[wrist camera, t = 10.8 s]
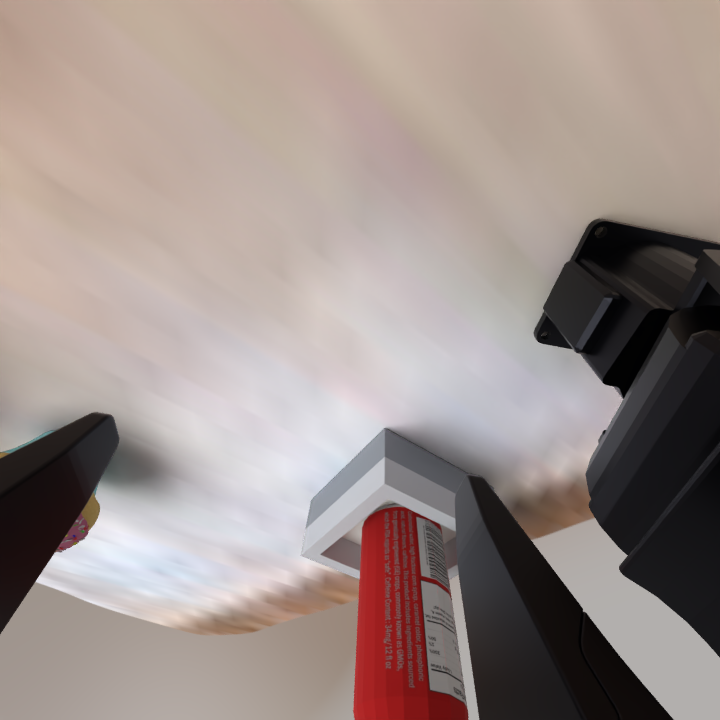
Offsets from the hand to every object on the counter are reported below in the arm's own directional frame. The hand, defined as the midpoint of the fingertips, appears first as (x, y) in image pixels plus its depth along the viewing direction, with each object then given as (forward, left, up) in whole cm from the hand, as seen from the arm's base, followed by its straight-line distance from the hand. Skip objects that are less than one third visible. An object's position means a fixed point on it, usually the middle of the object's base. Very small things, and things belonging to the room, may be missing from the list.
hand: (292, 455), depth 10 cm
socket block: (-7, +17, -12) cm, 22 cm away
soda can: (-7, +16, -10) cm, 20 cm away
